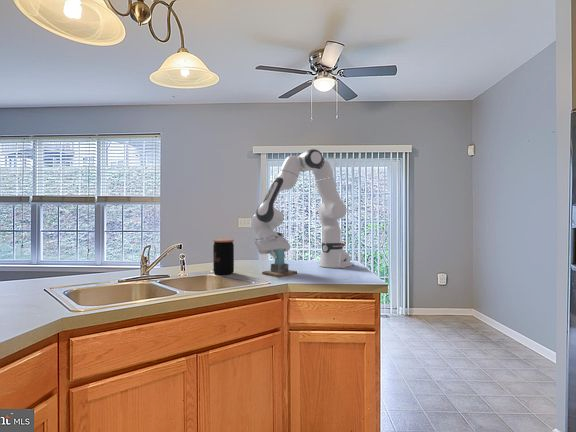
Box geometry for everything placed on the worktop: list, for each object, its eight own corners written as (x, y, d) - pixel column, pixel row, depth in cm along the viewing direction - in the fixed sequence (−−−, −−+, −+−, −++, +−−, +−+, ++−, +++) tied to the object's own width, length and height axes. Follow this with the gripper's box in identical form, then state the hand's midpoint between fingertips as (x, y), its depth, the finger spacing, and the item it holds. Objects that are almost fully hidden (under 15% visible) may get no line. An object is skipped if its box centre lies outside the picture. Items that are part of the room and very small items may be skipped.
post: (279, 267, 178) (279, 249, 178) (284, 268, 176) (284, 249, 176) (274, 268, 176) (274, 249, 176) (279, 269, 173) (279, 250, 173)
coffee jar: (212, 272, 181) (212, 239, 180) (232, 271, 184) (232, 238, 183) (214, 276, 170) (214, 240, 170) (235, 274, 174) (235, 240, 173)
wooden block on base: (281, 270, 185) (281, 261, 185) (297, 273, 176) (297, 263, 176) (262, 273, 176) (262, 264, 176) (277, 277, 167) (277, 266, 167)
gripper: (255, 235, 174) (267, 255, 167) (284, 233, 188) (297, 252, 181) (250, 243, 177) (262, 263, 170) (279, 240, 191) (291, 259, 184)
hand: (280, 257), depth 175 cm, fingers closed on post, 3 cm apart
